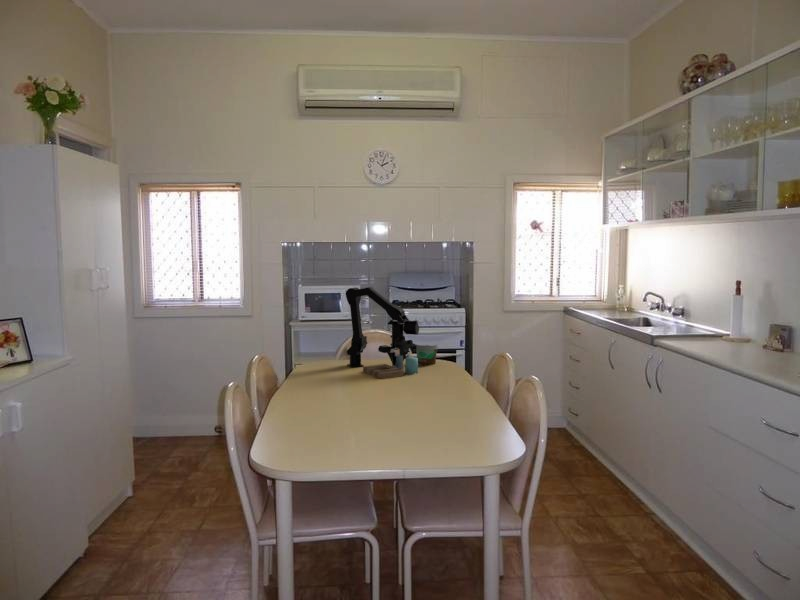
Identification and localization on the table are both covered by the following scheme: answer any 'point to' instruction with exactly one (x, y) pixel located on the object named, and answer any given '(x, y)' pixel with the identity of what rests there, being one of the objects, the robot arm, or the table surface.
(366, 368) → the bore block
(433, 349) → the food container
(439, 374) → the table surface
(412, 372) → the round bit
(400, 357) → the square bit
